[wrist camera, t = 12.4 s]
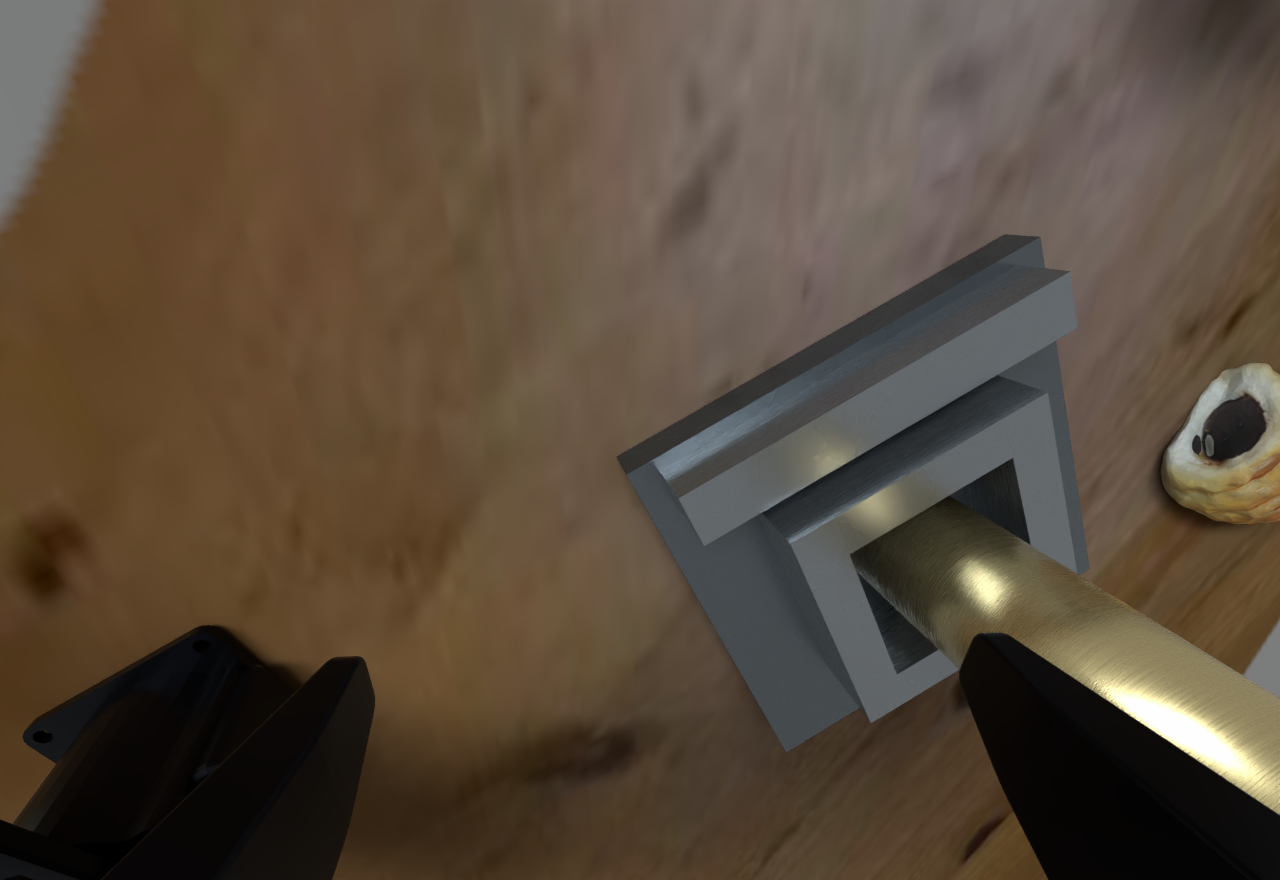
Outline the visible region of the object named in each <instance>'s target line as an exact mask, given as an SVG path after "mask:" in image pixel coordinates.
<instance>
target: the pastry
mask: <svg viewBox="0 0 1280 880" xmlns="http://www.w3.org/2000/svg"><path fill="white" fill-rule="evenodd" d="M1162 460H1163V462H1162V465H1161V469H1160V474H1161V480H1162V483H1163V486H1164V489H1165V490H1166V492H1167V493H1168V494H1169V495H1170V496H1171V497H1172V498H1173V499H1174V500H1176V501H1177V502H1178V503H1179V504H1180V505H1181V506H1183V507H1185V508H1189V509H1192V510H1195V511H1196V512H1198V513H1201V514H1203V515H1205V516H1206V517H1208V518H1210V519H1212V520H1214V521H1225V522H1228V523H1232V524H1248V525H1252V524H1254V523H1277V522H1280V374H1278V373H1276V372H1274V371H1273V370H1272V368H1271V367H1270V366H1269V365H1268V364H1265V363H1249V364H1246V365H1243V366H1240V367H1238V368H1235V369H1228V370H1225V371H1223V372H1222V373H1221V375H1220V376H1219V377H1218V378H1217V379H1216V380H1213V381H1212V382H1211V383H1210V384H1209V386H1208V387H1207V388H1206V389H1205V390H1204V392H1203V393H1202V394H1201V395H1200V397H1199V398H1198V400H1197V402H1196V403H1195V405H1194V407H1193V408H1192V410H1191V411H1190V413H1189V415H1188V417H1187V418H1186V420H1185V423H1184V424H1183V426H1182V428H1181V429H1180V430H1179V431H1178V432H1177V433H1176V435H1175V436H1174V438H1173V439H1172V441H1171V442H1170V444H1169V445H1168V446H1167V448H1166V450H1165V452H1164V455H1163V457H1162Z"/></svg>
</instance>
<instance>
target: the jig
mask: <svg viewBox="0 0 1280 880" xmlns="http://www.w3.org/2000/svg"><path fill="white" fill-rule="evenodd" d="M1077 328H1078V327H1077V319H1076V312H1075V304H1074V296H1073V288H1072V281H1071V273H1070V271H1062V270H1054V269H1046V268H1045V265H1044V258H1043V252H1042V245H1041V238H1040V237H1034V236H1020V235H1003V236H1001V237H999V238H998V239H996V240H994V241H992V242H991V243H989V244H987V245H986V246H984V247H982V248H980V249H979V250H977V251H975V252H973V253H972V254H970V255H968V256H966V257H965V258H963V259H961V260H959V261H958V262H956V263H954V264H952V265H951V266H949V267H947V268H945V269H944V270H942V271H940V272H938V273H937V274H935V275H933V276H931V277H930V278H928V279H926V280H924V281H923V282H921V283H919V284H917V285H916V286H914V287H912V288H910V289H909V290H907V291H905V292H903V293H902V294H900V295H898V296H896V297H895V298H893V299H891V300H890V301H888V302H886V303H884V304H883V305H881V306H879V307H877V308H876V309H874V310H872V311H870V312H869V313H867V314H865V315H863V316H862V317H860V318H858V319H856V320H855V321H853V322H851V323H849V324H848V325H846V326H844V327H842V328H841V329H839V330H837V331H835V332H834V333H832V334H830V335H828V336H827V337H825V338H823V339H821V340H820V341H818V342H816V343H814V344H813V345H811V346H809V347H807V348H806V349H804V350H802V351H800V352H799V353H797V354H795V355H794V356H792V357H790V358H788V359H787V360H785V361H783V362H781V363H780V364H778V365H776V366H774V367H773V368H771V369H769V370H767V371H766V372H764V373H762V374H760V375H759V376H757V377H755V378H753V379H752V380H750V381H748V382H746V383H745V384H743V385H741V386H739V387H738V388H736V389H734V390H732V391H731V392H729V393H727V394H725V395H724V396H722V397H720V398H718V399H717V400H715V401H713V402H711V403H710V404H708V405H706V406H704V407H703V408H701V409H699V410H697V411H696V412H694V413H692V414H691V415H689V416H687V417H685V418H684V419H682V420H680V421H678V422H677V423H675V424H673V425H671V426H670V427H668V428H666V429H664V430H663V431H661V432H659V433H657V434H656V435H654V436H652V437H650V438H649V439H647V440H645V441H643V442H642V443H640V444H638V445H636V446H635V447H633V448H631V449H629V450H628V451H626V452H624V453H622V454H621V455H619V456H617V459H618V461H619V462H620V464H621V466H622V468H623V469H624V471H625V473H626V475H627V476H628V478H629V480H630V482H631V483H632V485H633V487H634V489H635V490H636V492H637V494H638V496H639V497H640V499H641V501H642V503H643V504H644V506H645V508H646V510H647V511H648V513H649V515H650V516H651V518H652V520H653V522H654V523H655V525H656V527H657V529H658V530H659V532H660V534H661V536H662V537H663V539H664V541H665V543H666V544H667V546H668V548H669V549H670V551H671V553H672V555H673V556H674V558H675V560H676V562H677V563H678V565H679V567H680V569H681V570H682V572H683V574H684V576H685V577H686V579H687V581H688V582H689V584H690V586H691V588H692V589H693V591H694V593H695V595H696V596H697V598H698V600H699V602H700V603H701V605H702V607H703V609H704V610H705V612H706V614H707V615H708V617H709V619H710V621H711V622H712V624H713V626H714V628H715V629H716V631H717V633H718V635H719V636H720V638H721V640H722V642H723V643H724V645H725V647H726V648H727V650H728V652H729V654H730V655H731V657H732V659H733V661H734V662H735V664H736V666H737V668H738V669H739V671H740V673H741V675H742V676H743V678H744V680H745V682H746V683H747V685H748V687H749V688H750V690H751V692H752V694H753V695H754V697H755V699H756V701H757V702H758V704H759V706H760V708H761V709H762V711H763V713H764V715H765V716H766V718H767V720H768V721H769V723H770V725H771V727H772V728H773V730H774V732H775V734H776V735H777V737H778V739H779V741H780V742H781V744H782V746H783V748H784V749H785V751H786V752H788V751H789V750H791V749H793V748H794V747H796V746H798V745H799V744H801V743H803V742H804V741H806V740H808V739H809V738H811V737H813V736H814V735H816V734H818V733H819V732H821V731H822V730H824V729H826V728H827V727H829V726H831V725H832V724H834V723H836V722H837V721H839V720H841V719H842V718H844V717H846V716H847V715H849V714H851V713H852V712H854V711H855V710H857V709H859V708H860V710H861V711H862V712H863V713H864V715H865V716H866V717H867V719H868V720H869V721H870V723H872V722H874V721H876V720H877V719H879V718H881V717H882V716H884V715H885V714H887V713H889V712H890V711H892V710H894V709H895V708H897V707H899V706H900V705H902V704H904V703H905V702H907V701H909V700H910V699H912V698H913V697H915V696H917V695H918V694H920V693H922V692H923V691H925V690H927V689H928V688H930V687H932V686H933V685H935V684H936V683H938V682H940V681H941V680H943V679H945V678H946V677H948V676H950V675H951V674H953V673H955V672H956V671H958V670H959V669H958V668H957V667H956V666H955V665H954V664H953V663H952V662H951V661H950V660H949V659H948V658H947V657H946V656H944V655H943V654H942V653H941V652H940V651H939V650H938V649H937V648H936V647H935V646H934V645H933V644H932V643H931V642H930V641H929V640H928V639H927V638H926V637H925V636H924V635H923V634H922V633H920V632H919V631H918V630H917V629H916V628H915V627H914V626H913V625H912V624H911V623H910V622H909V621H908V620H907V619H906V618H905V617H904V616H903V615H902V614H901V613H900V612H899V611H897V610H896V609H895V608H894V607H893V606H892V605H891V604H890V603H889V602H888V601H887V600H886V599H885V598H884V597H883V596H882V595H881V594H880V593H879V592H878V591H877V590H876V589H875V588H873V587H872V586H871V585H870V584H869V583H868V582H867V581H866V580H865V579H864V578H863V577H862V576H861V575H860V574H859V573H858V572H857V571H856V570H855V567H854V565H853V562H852V560H851V557H850V554H851V553H853V552H855V551H856V550H858V549H860V548H861V547H863V546H865V545H866V544H868V543H870V542H871V541H873V540H875V539H876V538H878V537H880V536H882V535H883V534H885V533H887V532H888V531H890V530H892V529H893V528H895V527H897V526H898V525H900V524H902V523H903V522H905V521H907V520H909V519H910V518H912V517H914V516H915V515H917V514H919V513H920V512H922V511H924V510H925V509H927V508H929V507H930V506H932V505H934V504H936V503H937V502H939V501H941V500H942V499H944V498H946V497H947V496H949V495H950V496H952V497H953V498H955V499H956V500H958V501H960V502H961V503H963V504H965V505H966V506H968V507H969V508H971V509H973V510H974V511H976V512H978V513H979V514H981V515H982V516H984V517H986V518H987V519H989V520H991V521H992V522H994V523H995V524H997V525H999V526H1000V527H1002V528H1004V529H1005V530H1007V531H1009V532H1010V533H1012V534H1013V535H1015V536H1017V537H1018V538H1020V539H1022V540H1023V541H1025V542H1026V543H1028V544H1030V545H1031V546H1033V547H1035V548H1036V549H1038V550H1039V551H1041V552H1043V553H1044V554H1046V555H1048V556H1049V557H1051V558H1052V559H1054V560H1056V561H1057V562H1059V563H1061V564H1062V565H1064V566H1065V567H1067V568H1069V569H1070V570H1072V571H1074V572H1075V573H1077V574H1078V575H1080V574H1082V573H1083V572H1085V571H1087V570H1088V569H1090V568H1089V562H1088V555H1087V548H1086V541H1085V535H1084V528H1083V521H1082V514H1081V508H1080V501H1079V494H1078V488H1077V481H1076V474H1075V467H1074V461H1073V454H1072V447H1071V440H1070V434H1069V427H1068V420H1067V413H1066V407H1065V400H1064V393H1063V386H1062V380H1061V373H1060V366H1059V360H1058V353H1057V346H1056V340H1058V339H1060V338H1061V337H1063V336H1065V335H1066V334H1068V333H1070V332H1071V331H1073V330H1075V329H1077Z"/></svg>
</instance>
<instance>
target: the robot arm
mask: <svg viewBox="0 0 1280 880" xmlns="http://www.w3.org/2000/svg"><path fill="white" fill-rule="evenodd" d="M199 640H206V641H208V642H210V645H205V644H202V643H200V642H199ZM959 679H960V684H961V687H962V689H963V692H964V694H965V697H966V700H967V702H968V705H969V707H970V710H971V712H972V715H973V717H974V720H975V722H976V725H977V727H978V730H979V732H980V735H981V737H982V740H983V742H984V745H985V748H986V750H987V753H988V755H989V758H990V760H991V763H992V765H993V768H994V770H995V772H996V775H997V777H998V779H999V782H1000V784H1001V786H1002V788H1003V791H1004V793H1005V795H1006V797H1007V799H1008V801H1009V803H1010V805H1011V807H1012V809H1013V811H1014V813H1015V815H1016V817H1017V819H1018V821H1019V823H1020V825H1021V827H1022V829H1023V831H1024V833H1025V835H1026V837H1027V839H1028V841H1029V843H1030V845H1031V847H1032V849H1033V850H1034V852H1035V854H1036V856H1037V858H1038V860H1039V862H1040V864H1041V866H1042V868H1043V870H1044V872H1045V874H1046V876H1047V878H1048V880H1280V815H1279V814H1278V813H1276V812H1275V811H1273V810H1272V809H1270V808H1269V807H1267V806H1266V805H1264V804H1263V803H1261V802H1260V801H1258V800H1257V799H1255V798H1254V797H1252V796H1251V795H1249V794H1248V793H1246V792H1245V791H1243V790H1242V789H1240V788H1239V787H1237V786H1236V785H1234V784H1233V783H1231V782H1230V781H1228V780H1227V779H1225V778H1224V777H1222V776H1221V775H1219V774H1218V773H1216V772H1215V771H1213V770H1212V769H1210V768H1208V767H1207V766H1205V765H1204V764H1202V763H1201V762H1199V761H1198V760H1196V759H1195V758H1193V757H1192V756H1190V755H1189V754H1187V753H1186V752H1184V751H1183V750H1181V749H1180V748H1178V747H1177V746H1175V745H1174V744H1172V743H1171V742H1169V741H1168V740H1166V739H1165V738H1163V737H1162V736H1160V735H1159V734H1157V733H1156V732H1154V731H1153V730H1151V729H1150V728H1148V727H1147V726H1145V725H1144V724H1142V723H1141V722H1139V721H1138V720H1136V719H1135V718H1133V717H1132V716H1130V715H1129V714H1127V713H1126V712H1124V711H1123V710H1121V709H1120V708H1118V707H1117V706H1115V705H1114V704H1112V703H1111V702H1109V701H1108V700H1106V699H1105V698H1103V697H1102V696H1100V695H1099V694H1097V693H1096V692H1094V691H1093V690H1091V689H1090V688H1088V687H1087V686H1085V685H1084V684H1082V683H1081V682H1079V681H1078V680H1076V679H1075V678H1073V677H1072V676H1070V675H1068V674H1067V673H1065V672H1064V671H1062V670H1061V669H1059V668H1058V667H1056V666H1055V665H1053V664H1052V663H1050V662H1049V661H1047V660H1046V659H1044V658H1043V657H1041V656H1040V655H1038V654H1037V653H1035V652H1034V651H1032V650H1031V649H1029V648H1028V647H1026V646H1025V645H1023V644H1022V643H1020V642H1019V641H1017V640H1016V639H1014V638H1013V637H1011V636H1009V635H1008V634H1005V633H1001V632H994V633H979V634H977V635H976V636H974V637H973V639H972V641H971V644H970V646H969V648H968V650H967V653H966V655H965V657H964V660H963V662H962V664H961V667H960V671H959ZM374 708H375V695H374V690H373V687H372V683H371V679H370V676H369V672H368V669H367V665H366V662H365V660H364V659H363V658H362V657H359V656H350V657H335V658H332V659H330V660H329V661H327V662H326V663H325V664H324V665H323V666H322V667H321V668H320V669H319V670H318V671H317V672H316V673H315V674H314V675H312V676H311V677H310V678H309V679H308V680H307V681H306V682H305V683H304V684H303V685H302V686H301V687H300V688H299V689H298V690H297V691H296V692H295V693H292V692H291V691H290V690H289V689H288V688H287V687H286V686H285V685H283V684H282V683H281V682H280V681H279V680H278V679H277V678H275V677H274V676H273V675H272V674H271V673H270V672H269V671H268V670H266V669H265V668H264V667H262V666H261V665H260V664H259V663H257V662H256V661H255V660H254V659H253V658H252V657H251V656H250V655H248V654H247V653H246V652H245V651H244V650H243V649H242V648H241V647H239V646H238V645H237V644H236V643H235V642H234V641H233V640H232V639H230V638H229V637H228V636H227V635H226V634H225V633H224V632H223V631H221V630H220V629H218V628H217V627H214V626H209V625H206V626H199V627H197V628H194V629H193V630H191V631H189V632H187V633H186V634H184V635H182V636H180V637H179V638H177V639H175V640H173V641H172V642H170V643H168V644H166V645H164V646H163V647H161V648H159V649H157V650H156V651H154V652H152V653H150V654H149V655H147V656H145V657H143V658H142V659H140V660H138V661H136V662H135V663H133V664H131V665H129V666H127V667H126V668H124V669H122V670H120V671H119V672H117V673H115V674H113V675H112V676H110V677H108V678H106V679H105V680H103V681H101V682H99V683H98V684H96V685H94V686H92V687H90V688H89V689H87V690H85V691H83V692H82V693H80V694H78V695H76V696H75V697H73V698H71V699H69V700H68V701H66V702H64V703H62V704H60V705H59V706H57V707H55V708H53V709H52V710H50V711H48V712H46V713H45V714H43V715H41V716H39V717H38V718H36V719H35V720H34V721H33V722H32V723H31V724H30V725H29V727H28V728H27V729H26V730H25V731H24V734H23V740H24V742H25V743H26V744H27V745H28V746H30V747H31V748H33V749H34V750H36V751H38V752H39V753H41V754H42V755H44V756H45V757H47V758H48V759H50V760H51V761H53V762H55V763H56V765H55V767H54V768H53V769H52V771H51V772H50V773H49V775H48V776H47V777H46V779H45V780H44V782H43V783H42V784H41V786H40V787H39V788H38V790H37V791H36V793H35V794H34V795H33V797H32V798H31V799H30V801H29V802H28V803H27V805H26V806H25V808H24V809H23V810H22V812H21V813H20V814H19V816H18V817H17V818H16V820H15V821H14V823H13V824H11V823H8V822H5V821H2V820H0V880H332V878H333V875H334V872H335V869H336V866H337V863H338V860H339V857H340V854H341V851H342V848H343V845H344V841H345V838H346V834H347V831H348V828H349V824H350V820H351V816H352V811H353V807H354V803H355V798H356V793H357V789H358V784H359V779H360V775H361V770H362V765H363V761H364V756H365V751H366V747H367V742H368V737H369V733H370V728H371V723H372V719H373V714H374ZM44 731H47V732H50V733H47V732H44Z"/></svg>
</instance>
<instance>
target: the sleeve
mask: <svg viewBox="0 0 1280 880" xmlns="http://www.w3.org/2000/svg"><path fill="white" fill-rule="evenodd" d="M850 557H851V560H852V562H853V565H854V567H855V570H856V571H857V572H858V573H859V574H860V575H861V576H862V577H863V578H864V579H865V580H866V581H867V582H868V583H869V584H870V585H871V586H872V587H873V588H875V589H876V590H877V591H878V592H879V593H880V594H881V595H882V596H883V597H884V598H885V599H886V600H887V601H888V602H889V603H890V604H891V605H892V606H893V607H894V608H895V609H896V610H897V611H899V612H900V613H901V614H902V615H903V616H904V617H905V618H906V619H907V620H908V621H909V622H910V623H911V624H912V625H913V626H914V627H915V628H916V629H917V630H918V631H919V632H920V633H922V634H923V635H924V636H925V637H926V638H927V639H928V640H929V641H930V642H931V643H932V644H933V645H934V646H935V647H936V648H937V649H938V650H939V651H940V652H941V653H942V654H943V655H944V656H946V657H947V658H948V659H949V660H950V661H951V662H952V663H953V664H954V665H955V666H956V667H957V668H958V669H959V670H960V667H961V664H962V662H963V660H964V657H965V655H966V653H967V650H968V648H969V646H970V644H971V641H972V639H973V637H974V636H976V635H977V634H979V633H994V632H1001V633H1005V634H1008V635H1009V636H1011V637H1013V638H1014V639H1016V640H1017V641H1019V642H1020V643H1022V644H1023V645H1025V646H1026V647H1028V648H1029V649H1031V650H1032V651H1034V652H1035V653H1037V654H1038V655H1040V656H1041V657H1043V658H1044V659H1046V660H1047V661H1049V662H1050V663H1052V664H1053V665H1055V666H1056V667H1058V668H1059V669H1061V670H1062V671H1064V672H1065V673H1067V674H1068V675H1070V676H1072V677H1073V678H1075V679H1076V680H1078V681H1079V682H1081V683H1082V684H1084V685H1085V686H1087V687H1088V688H1090V689H1091V690H1093V691H1094V692H1096V693H1097V694H1099V695H1100V696H1102V697H1103V698H1105V699H1106V700H1108V701H1109V702H1111V703H1112V704H1114V705H1115V706H1117V707H1118V708H1120V709H1121V710H1123V711H1124V712H1126V713H1127V714H1129V715H1130V716H1132V717H1133V718H1135V719H1136V720H1138V721H1139V722H1141V723H1142V724H1144V725H1145V726H1147V727H1148V728H1150V729H1151V730H1153V731H1154V732H1156V733H1157V734H1159V735H1160V736H1162V737H1163V738H1165V739H1166V740H1168V741H1169V742H1171V743H1172V744H1174V745H1175V746H1177V747H1178V748H1180V749H1181V750H1183V751H1184V752H1186V753H1187V754H1189V755H1190V756H1192V757H1193V758H1195V759H1196V760H1198V761H1199V762H1201V763H1202V764H1204V765H1205V766H1207V767H1208V768H1210V769H1212V770H1213V771H1215V772H1216V773H1218V774H1219V775H1221V776H1222V777H1224V778H1225V779H1227V780H1228V781H1230V782H1231V783H1233V784H1234V785H1236V786H1237V787H1239V788H1240V789H1242V790H1243V791H1245V792H1246V793H1248V794H1249V795H1251V796H1252V797H1254V798H1255V799H1257V800H1258V801H1260V802H1261V803H1263V804H1264V805H1266V806H1267V807H1269V808H1270V809H1272V810H1273V811H1275V812H1276V813H1278V814H1279V815H1280V698H1278V697H1277V696H1275V695H1273V694H1272V693H1270V692H1268V691H1267V690H1265V689H1264V688H1262V687H1260V686H1259V685H1257V684H1256V683H1254V682H1252V681H1251V680H1249V679H1247V678H1246V677H1244V676H1243V675H1241V674H1239V673H1238V672H1236V671H1234V670H1233V669H1231V668H1230V667H1228V666H1226V665H1225V664H1223V663H1221V662H1220V661H1218V660H1217V659H1215V658H1213V657H1212V656H1210V655H1208V654H1207V653H1205V652H1204V651H1202V650H1200V649H1199V648H1197V647H1195V646H1194V645H1192V644H1191V643H1189V642H1187V641H1186V640H1184V639H1182V638H1181V637H1179V636H1178V635H1176V634H1174V633H1173V632H1171V631H1169V630H1168V629H1166V628H1165V627H1163V626H1161V625H1160V624H1158V623H1156V622H1155V621H1153V620H1152V619H1150V618H1148V617H1147V616H1145V615H1143V614H1142V613H1140V612H1139V611H1137V610H1135V609H1134V608H1132V607H1130V606H1129V605H1127V604H1126V603H1124V602H1122V601H1121V600H1119V599H1117V598H1116V597H1114V596H1113V595H1111V594H1109V593H1108V592H1106V591H1104V590H1103V589H1101V588H1100V587H1098V586H1096V585H1095V584H1093V583H1091V582H1090V581H1088V580H1087V579H1085V578H1083V577H1082V576H1080V575H1078V574H1077V573H1075V572H1074V571H1072V570H1070V569H1069V568H1067V567H1065V566H1064V565H1062V564H1061V563H1059V562H1057V561H1056V560H1054V559H1052V558H1051V557H1049V556H1048V555H1046V554H1044V553H1043V552H1041V551H1039V550H1038V549H1036V548H1035V547H1033V546H1031V545H1030V544H1028V543H1026V542H1025V541H1023V540H1022V539H1020V538H1018V537H1017V536H1015V535H1013V534H1012V533H1010V532H1009V531H1007V530H1005V529H1004V528H1002V527H1000V526H999V525H997V524H995V523H994V522H992V521H991V520H989V519H987V518H986V517H984V516H982V515H981V514H979V513H978V512H976V511H974V510H973V509H971V508H969V507H968V506H966V505H965V504H963V503H961V502H960V501H958V500H956V499H955V498H953V497H952V496H950V495H949V496H947V497H946V498H944V499H942V500H941V501H939V502H937V503H936V504H934V505H932V506H930V507H929V508H927V509H925V510H924V511H922V512H920V513H919V514H917V515H915V516H914V517H912V518H910V519H909V520H907V521H905V522H903V523H902V524H900V525H898V526H897V527H895V528H893V529H892V530H890V531H888V532H887V533H885V534H883V535H882V536H880V537H878V538H876V539H875V540H873V541H871V542H870V543H868V544H866V545H865V546H863V547H861V548H860V549H858V550H856V551H855V552H853V553H851V554H850Z"/></svg>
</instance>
